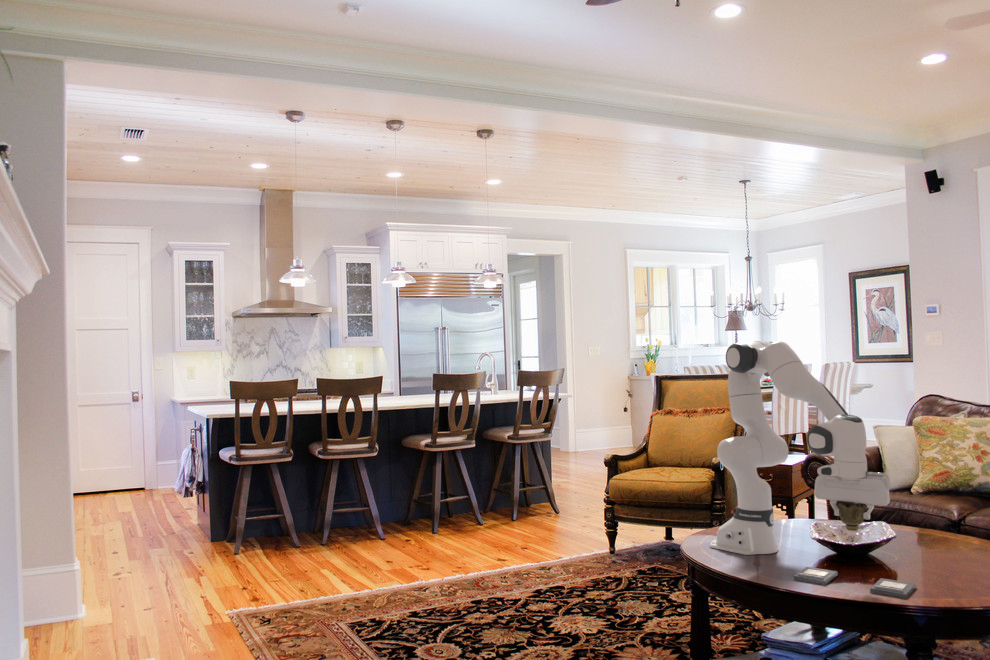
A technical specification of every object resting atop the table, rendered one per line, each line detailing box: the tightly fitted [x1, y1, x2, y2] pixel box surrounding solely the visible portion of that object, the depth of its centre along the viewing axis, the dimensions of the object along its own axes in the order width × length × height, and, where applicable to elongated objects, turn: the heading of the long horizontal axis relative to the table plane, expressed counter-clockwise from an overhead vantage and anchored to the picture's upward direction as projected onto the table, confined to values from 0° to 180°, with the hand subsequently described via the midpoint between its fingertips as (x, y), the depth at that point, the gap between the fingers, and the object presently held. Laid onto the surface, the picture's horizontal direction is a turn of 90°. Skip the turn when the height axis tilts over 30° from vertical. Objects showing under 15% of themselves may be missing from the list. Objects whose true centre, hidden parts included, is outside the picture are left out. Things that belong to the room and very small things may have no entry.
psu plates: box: [793, 566, 917, 600], centre depth 220 cm, size 30×12×2 cm, turn 50°
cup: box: [837, 501, 866, 532], centre depth 223 cm, size 8×7×8 cm
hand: (852, 517), depth 223 cm, fingers closed on cup, 7 cm apart
